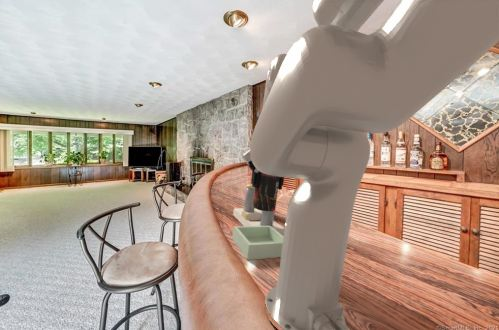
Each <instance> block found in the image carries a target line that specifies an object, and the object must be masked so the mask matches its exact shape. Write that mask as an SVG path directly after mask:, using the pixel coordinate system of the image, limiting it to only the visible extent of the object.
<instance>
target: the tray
mask: <svg viewBox="0 0 499 330" xmlns="http://www.w3.org/2000/svg"><path fill="white" fill-rule="evenodd" d="M283 238H284V236H282V235H281V234H280V233H279V232H277V231H276V230H275V229H274V228H273V227H271V226H243V225H242V226H241V225H239V226H236V225H235V226H233V230H232V238H231V239H232V241H233V242H234V244H235V245H236V246H237V248H238V249H239V251H240V252H241V253H242V255H243V256H244V258H245V259H246V260H247V261H251V260H263V259H274V258H281V253H282V245H283Z"/></svg>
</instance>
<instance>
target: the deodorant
mask: <svg viewBox="0 0 499 330" xmlns="http://www.w3.org/2000/svg"><path fill="white" fill-rule="evenodd" d="M259 173H261V177H260V185H259V188H258V189H257V188H255V195H254V203H253V207H254V208H255V209H258V210H262V211H274V210H275V211H276V208H277V207H276V206H277V199H278V192H279V189H278V186H279V179H280V177H278V176H271V175H267V174H264V173H262V172H260V171H259Z"/></svg>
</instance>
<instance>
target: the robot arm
mask: <svg viewBox="0 0 499 330" xmlns="http://www.w3.org/2000/svg"><path fill="white" fill-rule="evenodd" d="M384 1H385V0H313V4H312V14H313V17H314V20H315V23H316V24H317V26H314V27H312V28H310V29H308V30H306V31H305V32H304V33H303V34H301V35H300V36H299V38H297V40H295V42H293V44H292V46H291V47H290V49H289V50H288V51H287V53H280V54H278V55H277V56H276V57H275V58H274V59H273V60H272V61H271V63H270V66H269V70H268V71H267V73H266V78H265V79H266V80H265V85H264V86H265V87H264V94H263V101H262V110H258V111H257V112H256V117H257V118H258V119H257V121H256V123H255V126H254V128H253V132H252V135H251V140H250V146H249V149H248V150H247V151H246V152H244V153H243V154H242V159H243V161H244V162H245V163H246V164H247V166H248V167H249V168H250V170H251V172H252V173H251V178H250V179H251V181H250V184H252V186H253V187H254V188H257V189H258V188H259V185H260V177H261V173H259V171H260V172H262V173H264V174H267V175H271V176H278V177H280V179H279V186H278V191H279V190H281V191H282V189H283V186H284V182H285V181H284V180H285V178H288V179H289V178H290V179H299V180H303V181H302V182H301V183H300V184H299V186H298V187H297V188H296V189H295V191H294V192H293V194H292V195H291V198H290V199H289V202H288V205H287V210H286V211H287V212H286V217H285V224H284V226H285V227H284V228H285V231H284V238H283V245H282V253H281V257H280V260H279V261H280V262H279V267H278V276H277V283H276V286H273V288H271V289H270V290H268V292H267V294H266V296H265V300H264V305H265V304H266V307H267V309H268V311H269V313H270V314H271V317H272V318H273V319H274V320H275V321H276V322H277V323H278V325H279V326H280V328H282V329H283V330H351V329H350V328H349V327H348V326H347V324H346V318H345V316H344V313H343V311H344V306H343V305H342V304H341V303H340V302H339V297H340V290H341V284H342V278H343V272H344V267H345V260H346V252H347V247H348V242H349V241H348V240H349V234H350V228H351V223H352V219H353V211H354V208H355V202H356V198H357V195H358V191H359V188H360V185H361V182H362V179H363V177H364V174H365V172H366V170H367V167H368V163H369V160H370V157H371V156H370V155H371V145H370V140H369V138H368V136H367V133H368V134H384V133H388V132H390V131H393V130H395V129H397V128H398V127H400V126H402V125H403V124H404V123H406V122H407V121H408V120H410V119H411V118H412V117H413V116H414V115H416V114H417V113H418V112H419V111H420V110H422V109H423V107H425V106H426V105H427V104H428V103H430V102H431V101H432V100H433V99H434V98H435V97H436V96H438V95H439V94H440V93H441V92H442V91H443V90H445V89H446V88H448V87H449V86H450V85H451V84H452V83H453V82H454V81H455V80H457V79H458V78H460V77H461V75H463V74H464V73H465V72H466V71H468V69H470V67H472V66H474V64H476V63H477V62H478V61H479V60H480V59H481V58H482V57H483V56H484V55H485V54H487V52H489V51H490V50H491V49H492V48H493V47H494V46H495V45H496V44H498V43H499V0H399V1H398V3H397V4H396V6H395V7H394V9H393V10H392V12H391V13H390V14H389V16H388V17H387V18H386V19H385V20H384V22H383V23H382V24H381V26H379V28H378V29H377V30H376V31H374V32H371V34H366V33H362V32H359V30H360V29H361V28H362V26H363V25H364V24H365V23H366V22H367V21H368V19H370V17H371V16H372V15H373V14H374V12H376V11H377V9H378V8H379V7H380V6H381V5H382V3H383V2H384Z"/></svg>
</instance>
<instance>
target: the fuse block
mask: <svg viewBox="0 0 499 330" xmlns="http://www.w3.org/2000/svg"><path fill="white" fill-rule="evenodd" d="M254 195H255V188H254V187H253V186H252V184H251V183H249V184H248V183H247V184H246V189H245V196H244V205H243V208H242V207H241V208H240V207H239V208H238V207H237V208H235V207H234V208H233V213H232V215H233V216H234V218H236V219H237V221H239V223H241V224H242V226H271V227H273V228H274V229H275V230H276V231H277V232H279V233H280V234H281V235H282V236H284V231H285V227H283V225H281V224H279V223H278V222H277V221H276V220H274V219H275V218H274V217H275V211H276V209H275V210H274V211H260V210H258V209H255V208H254V207H253V203H254Z"/></svg>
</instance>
